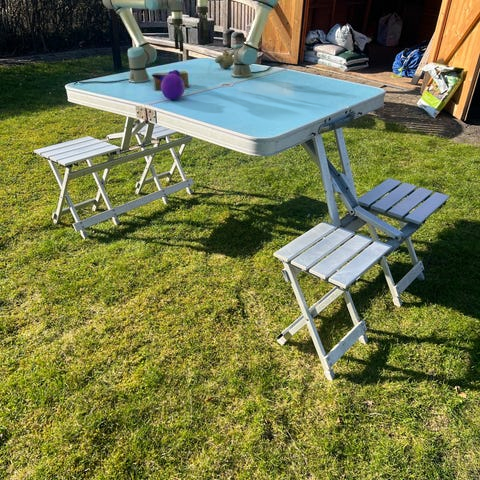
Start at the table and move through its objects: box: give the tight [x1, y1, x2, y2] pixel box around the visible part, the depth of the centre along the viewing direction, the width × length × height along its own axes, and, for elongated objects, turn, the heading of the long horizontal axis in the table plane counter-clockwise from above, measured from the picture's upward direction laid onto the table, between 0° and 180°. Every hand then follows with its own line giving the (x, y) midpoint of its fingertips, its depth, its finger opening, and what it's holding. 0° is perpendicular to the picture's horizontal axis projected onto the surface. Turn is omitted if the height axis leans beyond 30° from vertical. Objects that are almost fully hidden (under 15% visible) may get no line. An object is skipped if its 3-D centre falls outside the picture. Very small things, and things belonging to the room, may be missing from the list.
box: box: [152, 70, 190, 91], centre depth 314 cm, size 23×8×10 cm, turn 107°
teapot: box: [214, 49, 234, 70], centre depth 375 cm, size 21×12×15 cm, turn 120°
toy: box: [151, 69, 186, 101], centre depth 286 cm, size 16×18×27 cm
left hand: (179, 50), depth 330 cm, fingers open, 13 cm apart
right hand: (204, 40), depth 316 cm, fingers open, 13 cm apart
